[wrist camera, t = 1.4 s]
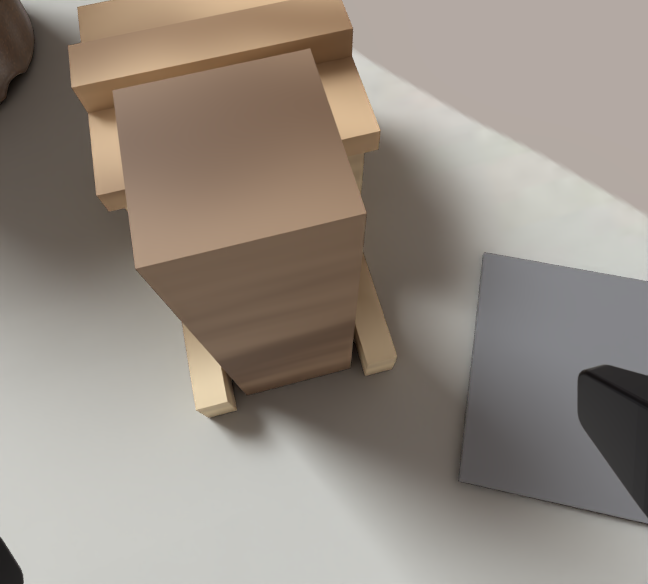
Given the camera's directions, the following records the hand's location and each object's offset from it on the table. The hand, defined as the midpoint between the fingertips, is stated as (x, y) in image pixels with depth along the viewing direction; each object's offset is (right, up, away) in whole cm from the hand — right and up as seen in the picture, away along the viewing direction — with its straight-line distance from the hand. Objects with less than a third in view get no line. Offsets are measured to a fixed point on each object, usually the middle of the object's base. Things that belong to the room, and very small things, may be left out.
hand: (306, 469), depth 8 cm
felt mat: (+10, -1, +13) cm, 17 cm away
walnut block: (-1, +1, +14) cm, 14 cm away
